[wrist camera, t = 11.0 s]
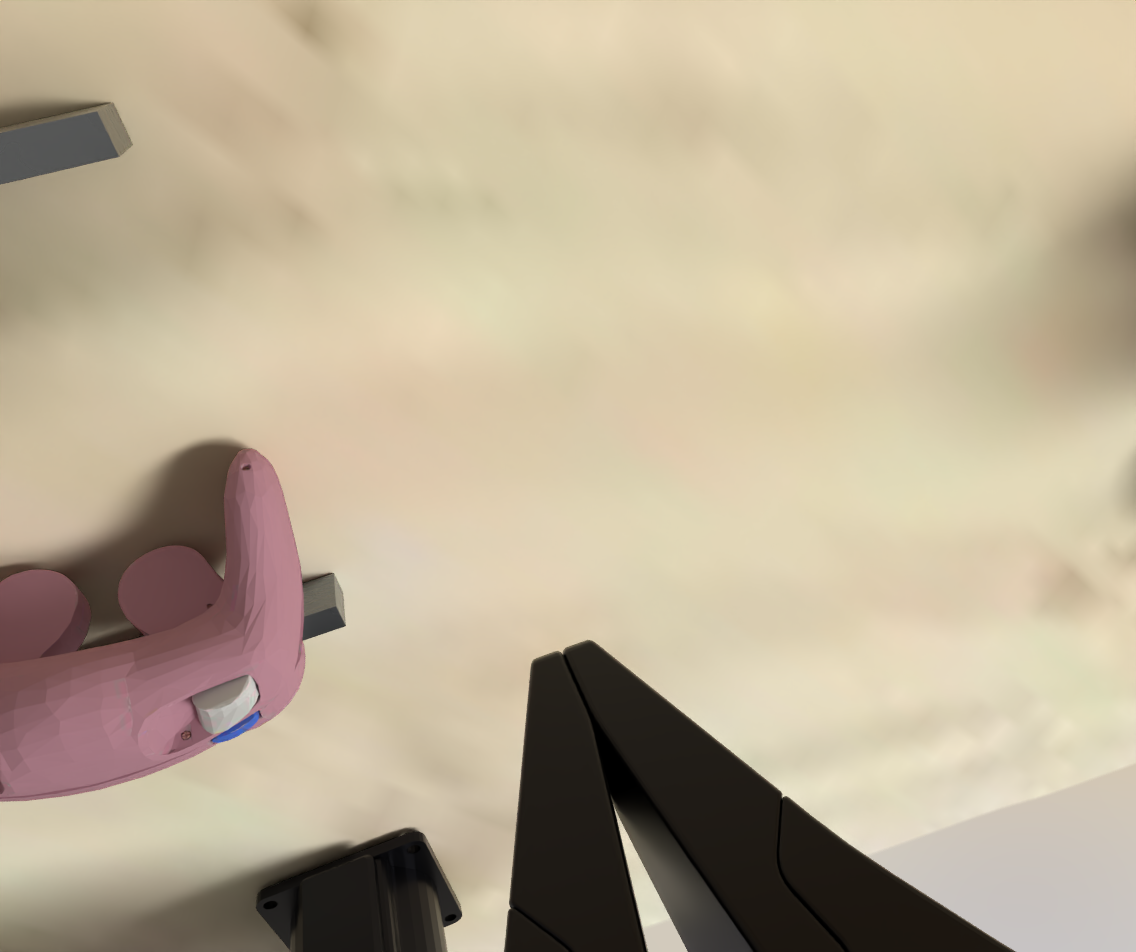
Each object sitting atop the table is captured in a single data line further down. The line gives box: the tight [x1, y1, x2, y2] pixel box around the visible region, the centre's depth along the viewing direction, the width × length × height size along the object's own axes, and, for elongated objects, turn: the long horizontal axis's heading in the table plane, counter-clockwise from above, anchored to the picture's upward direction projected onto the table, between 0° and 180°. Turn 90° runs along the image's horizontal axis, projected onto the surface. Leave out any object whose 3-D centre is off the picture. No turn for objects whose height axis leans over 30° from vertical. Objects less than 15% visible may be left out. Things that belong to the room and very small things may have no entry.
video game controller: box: [0, 449, 305, 801], centre depth 18 cm, size 10×5×7 cm, turn 91°
